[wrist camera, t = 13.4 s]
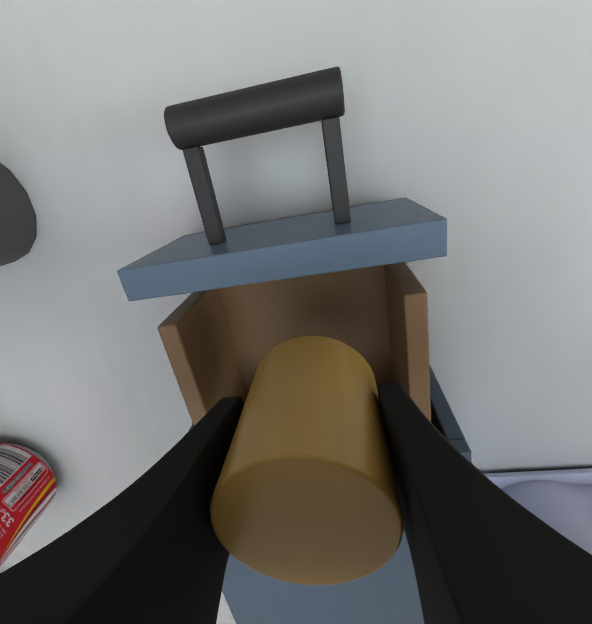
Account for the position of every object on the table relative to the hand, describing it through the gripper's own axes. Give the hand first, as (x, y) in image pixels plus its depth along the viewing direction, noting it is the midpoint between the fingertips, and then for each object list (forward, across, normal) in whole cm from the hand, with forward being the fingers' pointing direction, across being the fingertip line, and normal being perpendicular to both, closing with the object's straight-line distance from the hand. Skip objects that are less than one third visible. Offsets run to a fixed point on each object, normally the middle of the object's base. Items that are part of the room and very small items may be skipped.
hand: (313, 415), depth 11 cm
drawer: (+9, +1, -1) cm, 9 cm away
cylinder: (+1, 0, 0) cm, 1 cm away
